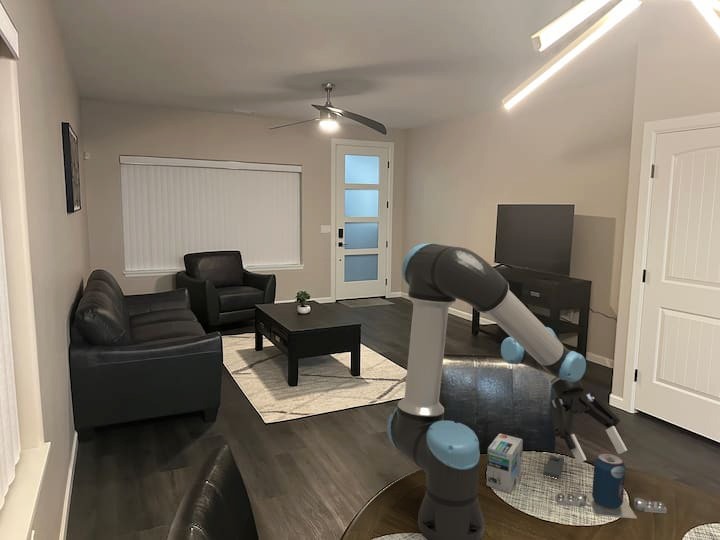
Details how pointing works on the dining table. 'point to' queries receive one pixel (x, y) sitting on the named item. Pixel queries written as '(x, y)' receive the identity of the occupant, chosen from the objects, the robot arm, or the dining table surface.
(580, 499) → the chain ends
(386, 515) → the dining table surface
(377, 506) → the dining table surface
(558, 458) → the bracket
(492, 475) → the light bulb box
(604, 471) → the soda can
